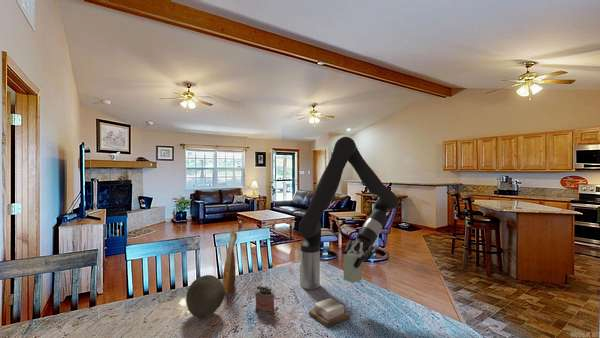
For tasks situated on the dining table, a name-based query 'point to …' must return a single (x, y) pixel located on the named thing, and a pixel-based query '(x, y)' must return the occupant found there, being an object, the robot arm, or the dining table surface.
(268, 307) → the lighter
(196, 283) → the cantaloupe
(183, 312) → the dining table surface
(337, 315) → the build base
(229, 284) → the pancake mix bag
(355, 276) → the green post
